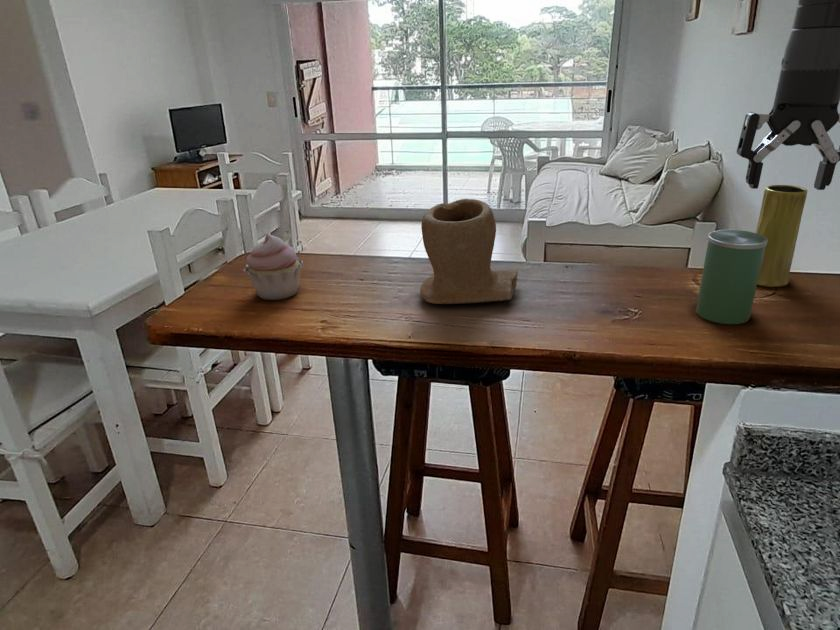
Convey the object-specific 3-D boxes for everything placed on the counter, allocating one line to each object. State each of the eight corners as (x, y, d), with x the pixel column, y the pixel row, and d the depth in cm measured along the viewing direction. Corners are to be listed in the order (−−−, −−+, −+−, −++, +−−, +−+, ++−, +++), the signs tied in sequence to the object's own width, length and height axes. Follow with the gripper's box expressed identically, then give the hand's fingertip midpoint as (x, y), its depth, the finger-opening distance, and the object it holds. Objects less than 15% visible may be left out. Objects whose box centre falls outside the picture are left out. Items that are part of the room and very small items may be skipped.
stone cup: (417, 317, 82) (413, 214, 76) (422, 285, 93) (418, 193, 86) (524, 315, 81) (528, 211, 75) (516, 284, 92) (519, 190, 85)
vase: (751, 270, 93) (770, 182, 87) (793, 279, 89) (816, 187, 83) (737, 281, 89) (756, 189, 83) (781, 291, 85) (804, 195, 79)
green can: (743, 305, 81) (759, 230, 76) (756, 326, 75) (774, 246, 70) (691, 302, 82) (703, 228, 78) (700, 323, 76) (714, 244, 72)
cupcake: (246, 288, 95) (235, 230, 91) (302, 279, 98) (294, 222, 93) (250, 309, 87) (239, 246, 83) (311, 298, 90) (303, 237, 85)
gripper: (763, 68, 74) (738, 193, 81) (890, 65, 71) (853, 195, 78) (747, 66, 81) (725, 182, 88) (863, 63, 78) (831, 183, 84)
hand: (785, 188), depth 83 cm, fingers open, 8 cm apart
